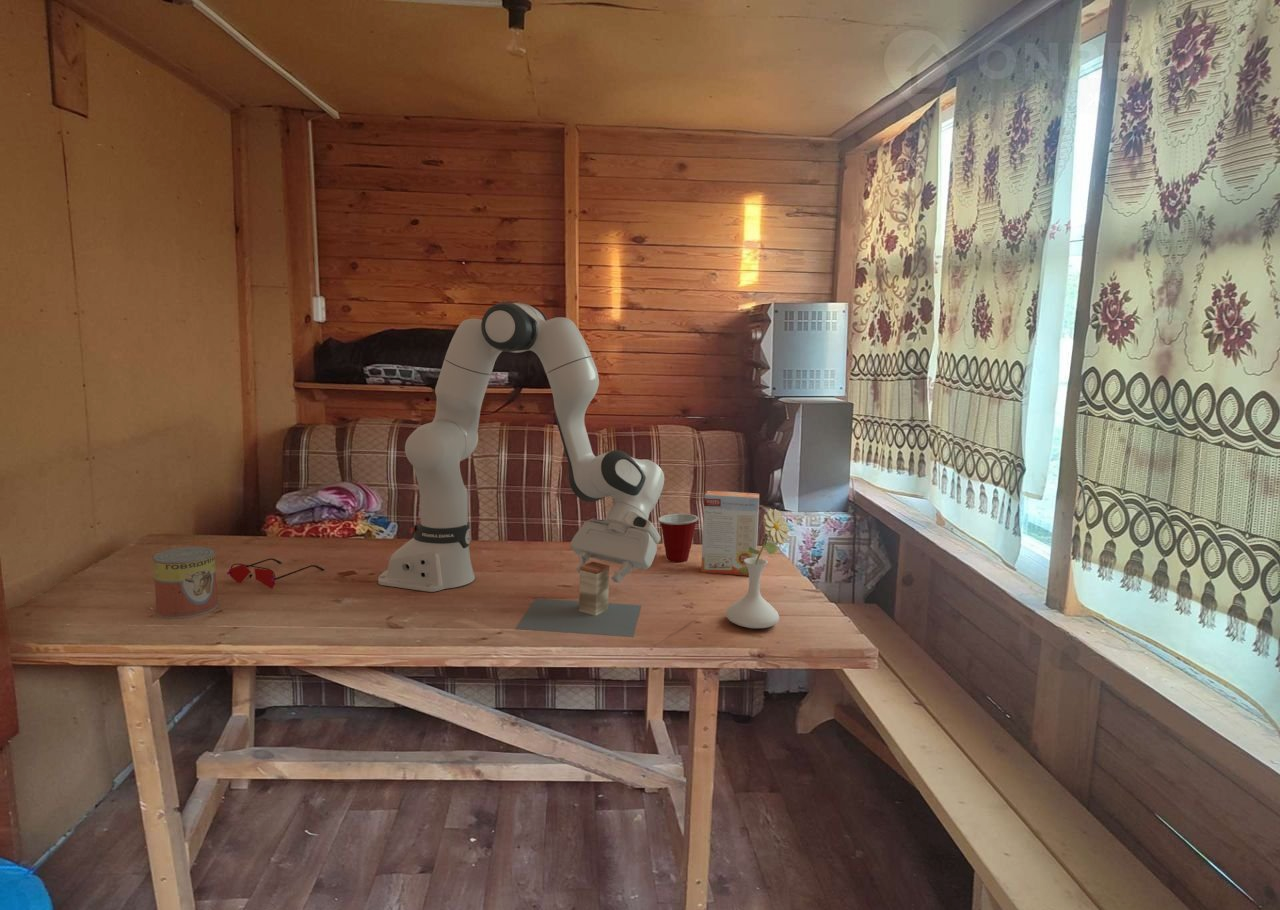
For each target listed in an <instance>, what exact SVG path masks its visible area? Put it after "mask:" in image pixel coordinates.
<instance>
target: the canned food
mask: <svg viewBox="0 0 1280 910" xmlns="http://www.w3.org/2000/svg"><path fill="white" fill-rule="evenodd" d="M215 553H216V550H215V549H214V548H212V547H208V546H198V545H197V546H196V545H195V546H185V547H184V546H183V547H176V548H170V549H166V550H163V551H159V552H156V553H155V554H154V555H153V556H152V557H151V558H152V565H153V579H154V581H153V582H154V590H155V591H154V592H155V593H154V594H155V606H156V612H155V613H156V615H157V616H158V617H161V618H162V619H163V618H164V619H185V618H193V617H197V616H201V615H205V614H208V613H210V612H212V611H215V609H217V608H218V607H219V602H218V601H219V600H218V588H217V572H216V570H217V569H216V568H217V567H216V554H215Z"/></svg>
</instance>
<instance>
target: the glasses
mask: <svg viewBox="0 0 1280 910" xmlns="http://www.w3.org/2000/svg"><path fill="white" fill-rule="evenodd" d="M271 560H272V561H273V562H276V563H278V564H283V562H281V561H280V560H278V559H275V558H272V557H270V558H266V559H263V560H260V561H257V562H254V563H250V564H244V563H234V564H231V566H230V568H229V571H227V572H226V574H227V575H229V576H230V577H231V578H232V579H233V580H234V581H235V582H236V583H239V584H240V583H243V582H244V580H245V579H251V578H252V576H253V574H251V570H250V569H249V568H250V567H252V568H254V577H255V580H256V581H258V582H259V583H261V584H263V585H265V586H266V587H268V588H270V589H273V588H274V586H275V585H276V581H277V580H281V578H282V579H283V578H285V577H289V576H290V575H293V574H296V573H299V572H300V571H301V572H302V571H303V570H307V569H308V568H311V567H313V568H316V569H318V570H320V571H325V568H322V567H320V566H319V565H316V564H311V565H307V566H305V567H302V568H300V569H298V570H297V569H296V570H295V571H292V572H289V573H286V574H284V575H281V576H277V577H276V574H275V572H274V571H273V570H272V569H270V568H267V567H261V566H256V565H258V564H259V565H260V564H261V563H265V562H267V561H271ZM235 565H236V566H235ZM237 565H238V566H237ZM233 566H235V567H233Z"/></svg>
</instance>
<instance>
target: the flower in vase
mask: <svg viewBox="0 0 1280 910" xmlns="http://www.w3.org/2000/svg"><path fill="white" fill-rule="evenodd" d="M781 515H782V514H781V513H780V511H779V510H777V509H776V508H774V509H772V508H769V509H768V510H766V513H764V515H763V518H762V521H763V527H764V533H765V538H764V541H763V545H762V547H761V548H760V550H758V549H757V550H755V549H753V548H751V547H749V552H751V553H754V554H757V556H756V558H747V559H744V562H745V564H746V566H747V568H748V572H749V576H748V590H747V593H746V595H744V596H743V597H741V598H740V599H738V600H736V601H735V602H734V603H732V604H731V605H730V606H729V607H728V608H727V610H726V612H725V616H726V617H727V619H728V621H730V622H731V623H733V624H735V625H736V626H739V627H744V628H748V629H765V628H770V627H773V626H775V625H776V624H777V623H778V622H779V621H780V615H779V613H778V611H777V610H776V609H775V607H774V606H772V605H771V604H770V603H769V602H768V601H767V600H765V599H764V598H763V596H762V595H761V590H760V584H761V578H762V577H761V576H762V573H763V571H764V569H765V567H767V566H766V565H767V564H768V563H769V562H768V560H766V559H763V558H760V557H761V555H762V552H763V550H765V551H766V552H767V553H768V554H771V555H772V554H775V553H776V552H778V551H779V547H778V545H779V546H781V545H782V546H783V545H784V544H785V542H787V541H789V539H788V538H790V534H789V533H790V531H791V530H790V527H788V526H789V525H788V523H787V522H786V517H785V516H781ZM768 539H769V540H770V541H767V540H768Z"/></svg>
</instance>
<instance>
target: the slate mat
mask: <svg viewBox="0 0 1280 910" xmlns="http://www.w3.org/2000/svg"><path fill="white" fill-rule="evenodd" d="M641 609H642V604H641V605H640V604H630V603H629V604H628V603H615V602H614V603H610V602H608V610H606V611H604V612H602V613H600V614H598V615H596V616H595V615H592V614H588V613H585V612H581V611H579V600H568V599H567V600H565V599H551V598H550V599H549V598H537V597H536V598H535V599H534V600H533V602H532V603H531V605H530V606H529V608H528V609H527V611H526V612H525V613H524V615H523V616H522V618H521V620H520V621H519V623H518V624H517V626H516V627H515V630H524V631H537V632H538V631H539V632H556V633H569V634H571V633H572V634H583V635H599V636H601V635H602V636H612V637H613V636H615V637H628V638H629V637H630V638H634V635H635V631H636V629H637V624H638V620H639V618H640V617H639V616H640V613H641V612H640V611H641Z"/></svg>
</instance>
